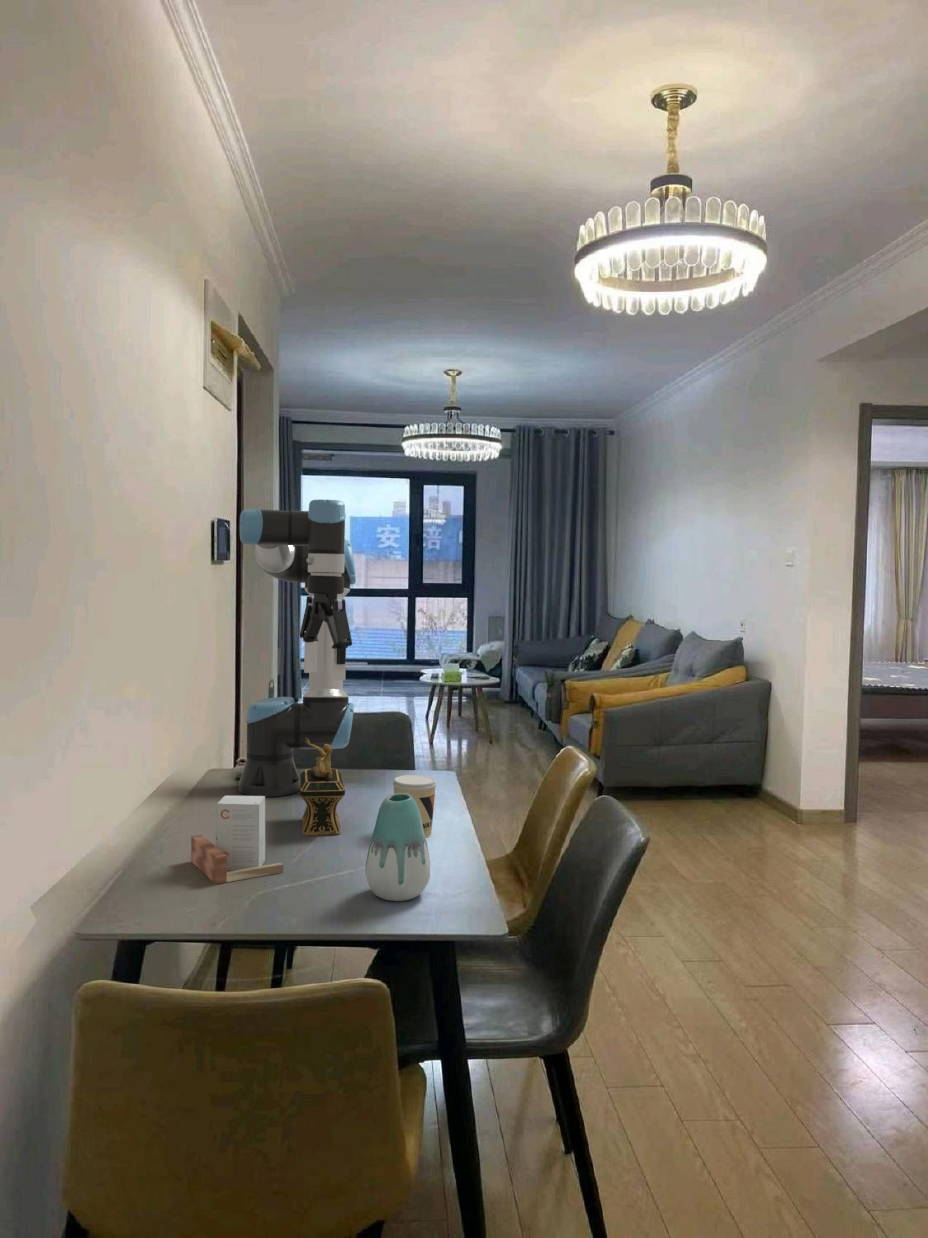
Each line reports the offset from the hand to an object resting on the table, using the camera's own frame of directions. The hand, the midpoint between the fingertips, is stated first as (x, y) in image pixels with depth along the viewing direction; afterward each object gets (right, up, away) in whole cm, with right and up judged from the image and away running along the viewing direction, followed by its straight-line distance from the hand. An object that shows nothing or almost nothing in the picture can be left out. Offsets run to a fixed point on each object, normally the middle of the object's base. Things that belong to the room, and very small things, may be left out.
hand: (324, 676), depth 194 cm
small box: (-14, -36, -16) cm, 41 cm away
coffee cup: (+18, -35, +8) cm, 40 cm away
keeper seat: (-14, -36, -16) cm, 41 cm away
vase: (+17, -37, -29) cm, 50 cm away
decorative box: (-2, -34, +10) cm, 36 cm away
